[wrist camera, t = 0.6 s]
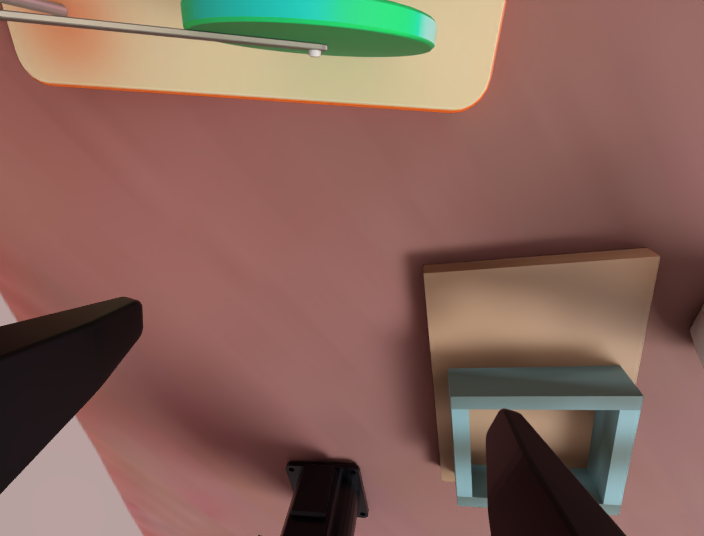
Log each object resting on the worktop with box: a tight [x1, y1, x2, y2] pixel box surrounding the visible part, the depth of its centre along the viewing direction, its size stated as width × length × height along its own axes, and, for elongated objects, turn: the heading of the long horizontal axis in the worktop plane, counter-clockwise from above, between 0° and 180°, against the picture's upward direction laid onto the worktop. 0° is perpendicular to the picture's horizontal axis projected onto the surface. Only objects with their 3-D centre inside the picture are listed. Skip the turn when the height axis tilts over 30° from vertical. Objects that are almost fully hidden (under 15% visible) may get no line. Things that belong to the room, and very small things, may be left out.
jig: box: [423, 248, 660, 515], centre depth 23 cm, size 18×12×4 cm, turn 9°
